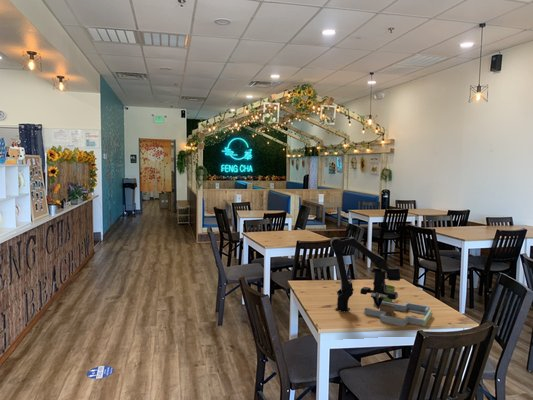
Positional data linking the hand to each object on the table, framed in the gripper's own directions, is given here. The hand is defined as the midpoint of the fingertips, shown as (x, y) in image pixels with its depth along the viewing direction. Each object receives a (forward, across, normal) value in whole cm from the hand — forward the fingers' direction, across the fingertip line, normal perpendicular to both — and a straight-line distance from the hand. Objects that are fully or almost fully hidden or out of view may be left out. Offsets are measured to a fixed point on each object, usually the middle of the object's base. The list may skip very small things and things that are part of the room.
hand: (378, 308), depth 212 cm
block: (+2, -5, 0) cm, 5 cm away
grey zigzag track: (+1, -10, 0) cm, 10 cm away
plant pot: (+2, +1, -19) cm, 19 cm away
